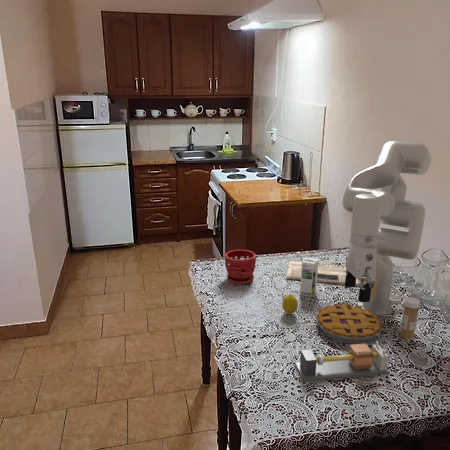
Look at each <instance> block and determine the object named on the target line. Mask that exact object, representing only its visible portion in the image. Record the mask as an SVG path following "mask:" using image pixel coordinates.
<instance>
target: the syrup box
mask: <svg viewBox="0 0 450 450" xmlns="http://www.w3.org/2000/svg"><path fill="white" fill-rule="evenodd" d="M319 259H320V258H319ZM319 259H317V258H311V257H306V256H305V257H304V258H303V260H302V261H301V262H302V269H301V280H300V286H299V287H300V288H299V289H300V290H299V295H300V296H304V297H309V298H314V297H315V295H316V293H317V287H318V286H317V284H318V282H317V275H318V264H319V262H320V261H319Z"/></svg>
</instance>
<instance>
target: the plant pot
mask: <svg viewBox="0 0 450 450" xmlns="http://www.w3.org/2000/svg"><path fill="white" fill-rule="evenodd" d="M241 258H243V259H241ZM256 263H257V255H256V253H255V252H253V251H251V250H248V249H234V250H233V249H232V250H230V251H227V252H226V253H225V254H224V264H225V268H226V272H227V275H226V279H227V280H228V281H229V282H230V283H232V284H234V285H248V284H250V283H252V282H253V281H254V279H255V275H254V272H255V269H256ZM247 283H248V284H247Z"/></svg>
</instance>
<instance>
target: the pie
mask: <svg viewBox="0 0 450 450" xmlns="http://www.w3.org/2000/svg"><path fill="white" fill-rule="evenodd" d="M315 319H316V323H317V324H318V326H319V328H320V330H321V331H322V332H323V333H324V335H325V336H327V337H328V338H329V339H331V340H333V341H335V342H338V343H343V344H349V345H354V344H368V343H370V342H371V341H374V340H375V339H376V338H377V337H378V335H380V334H381V331H382V329H383V326H382V323H381V322H382V321H381V320H380V319H379V316H376V315H373V314H372V313H371V311H369V310H364V309H362V307H360V306H358V305H355V306H354V305H351V304H350V303H345V304H339V303H334V304H333V305H329V304H328V305H326V306H324V308H319V309H318V311H317V313H316V315H315Z"/></svg>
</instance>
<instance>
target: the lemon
mask: <svg viewBox="0 0 450 450" xmlns="http://www.w3.org/2000/svg"><path fill="white" fill-rule="evenodd" d="M281 306H282V310H283V311H284V313H286V314H288V315H293V314H294V313H295V312H296V311H297V309H298V307H299V305H298V299H297V298H296V296H294V295H293V294H287V295H286V296H285V297H284V298H283V299H282V304H281Z"/></svg>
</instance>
